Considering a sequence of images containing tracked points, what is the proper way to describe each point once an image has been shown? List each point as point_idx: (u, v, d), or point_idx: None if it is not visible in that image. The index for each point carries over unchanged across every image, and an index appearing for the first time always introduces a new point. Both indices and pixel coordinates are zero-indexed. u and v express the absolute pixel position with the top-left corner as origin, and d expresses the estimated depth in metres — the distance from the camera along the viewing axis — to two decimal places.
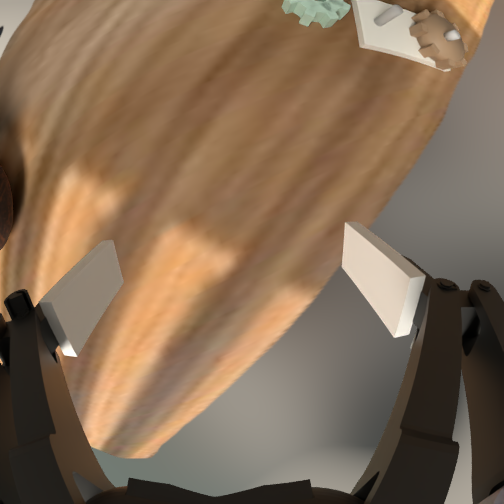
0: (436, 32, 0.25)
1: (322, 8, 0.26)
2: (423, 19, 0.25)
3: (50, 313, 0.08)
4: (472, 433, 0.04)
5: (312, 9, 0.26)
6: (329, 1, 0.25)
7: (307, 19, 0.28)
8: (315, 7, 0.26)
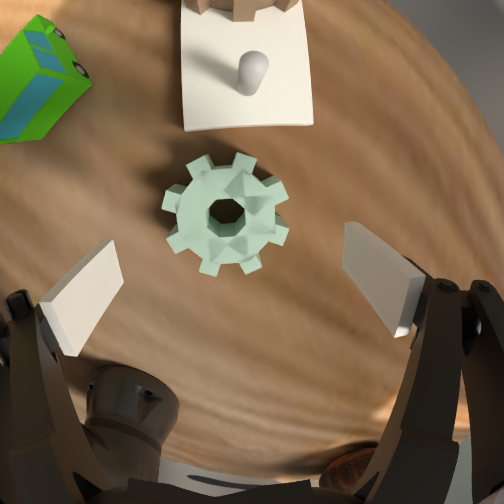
0: None
1: (263, 212, 0.22)
2: None
3: (50, 313, 0.08)
4: (472, 433, 0.04)
5: (269, 230, 0.22)
6: (240, 197, 0.21)
7: None
8: (264, 225, 0.22)
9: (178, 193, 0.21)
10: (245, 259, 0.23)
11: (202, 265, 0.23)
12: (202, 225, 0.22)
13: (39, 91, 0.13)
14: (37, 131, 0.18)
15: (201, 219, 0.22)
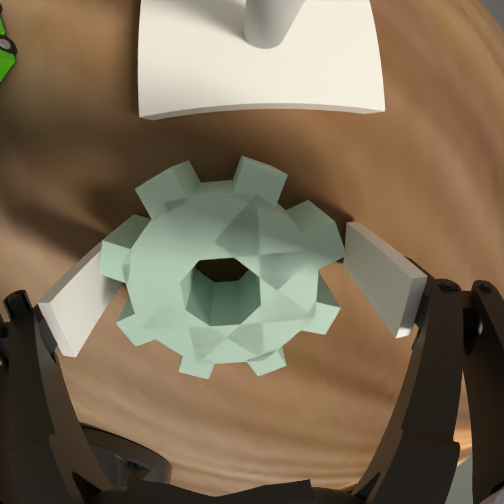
0: None
1: (296, 283, 0.11)
2: None
3: (49, 314, 0.08)
4: (473, 433, 0.04)
5: (305, 313, 0.12)
6: (252, 256, 0.10)
7: None
8: (295, 305, 0.11)
9: (126, 245, 0.10)
10: (259, 356, 0.12)
11: (183, 364, 0.12)
12: (177, 305, 0.11)
13: None
14: None
15: (173, 295, 0.11)
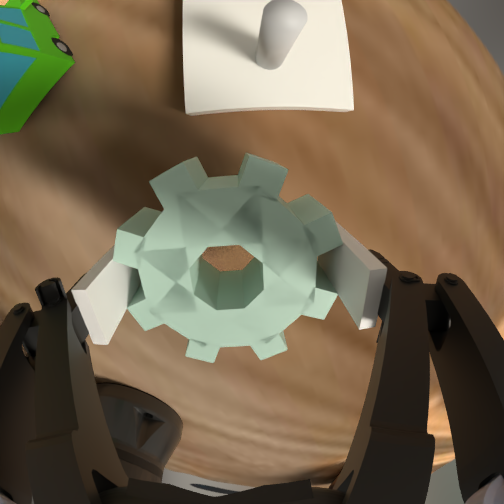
0: None
1: (297, 269, 0.12)
2: None
3: (83, 301, 0.09)
4: (452, 428, 0.05)
5: (305, 297, 0.13)
6: (255, 244, 0.11)
7: None
8: (296, 290, 0.12)
9: (139, 233, 0.11)
10: (261, 340, 0.13)
11: (190, 348, 0.13)
12: (186, 290, 0.12)
13: (5, 73, 0.08)
14: (11, 122, 0.13)
15: (183, 281, 0.12)
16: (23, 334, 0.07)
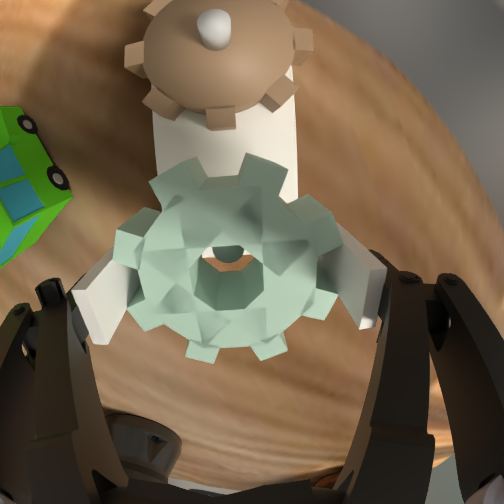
0: (217, 73, 0.14)
1: (297, 270, 0.12)
2: (180, 105, 0.15)
3: (83, 301, 0.09)
4: (451, 429, 0.05)
5: (305, 298, 0.12)
6: (255, 244, 0.11)
7: None
8: (296, 291, 0.12)
9: (139, 234, 0.11)
10: (261, 341, 0.13)
11: (190, 349, 0.13)
12: (186, 291, 0.12)
13: (21, 230, 0.15)
14: (29, 243, 0.20)
15: (182, 281, 0.12)
16: (23, 334, 0.07)
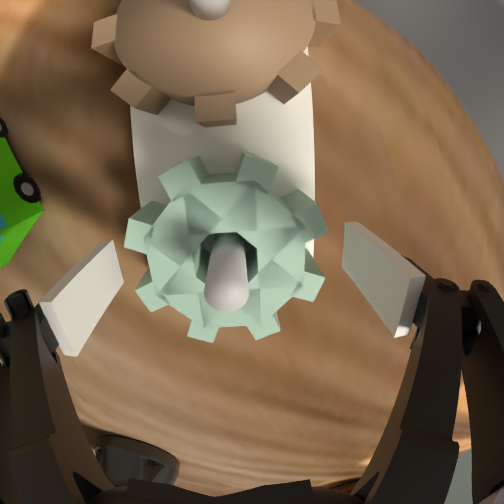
0: (211, 48, 0.09)
1: (287, 254, 0.14)
2: (161, 93, 0.11)
3: (50, 313, 0.08)
4: (472, 433, 0.04)
5: (295, 280, 0.14)
6: (250, 231, 0.13)
7: None
8: (287, 274, 0.14)
9: (148, 222, 0.13)
10: (256, 320, 0.15)
11: (191, 328, 0.15)
12: (189, 273, 0.14)
13: None
14: (1, 263, 0.15)
15: (186, 264, 0.13)
16: None
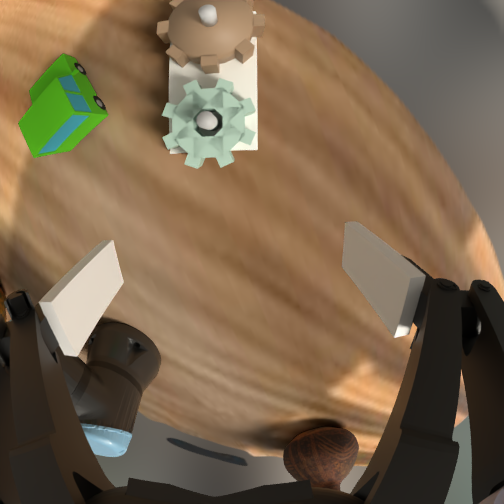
0: (208, 38, 0.22)
1: (236, 119, 0.27)
2: (186, 55, 0.24)
3: (50, 313, 0.08)
4: (471, 433, 0.04)
5: (240, 132, 0.27)
6: (220, 108, 0.26)
7: None
8: (236, 128, 0.27)
9: (175, 105, 0.26)
10: (221, 154, 0.28)
11: (187, 158, 0.28)
12: (190, 127, 0.27)
13: (73, 123, 0.24)
14: (68, 146, 0.29)
15: (190, 122, 0.27)
16: None
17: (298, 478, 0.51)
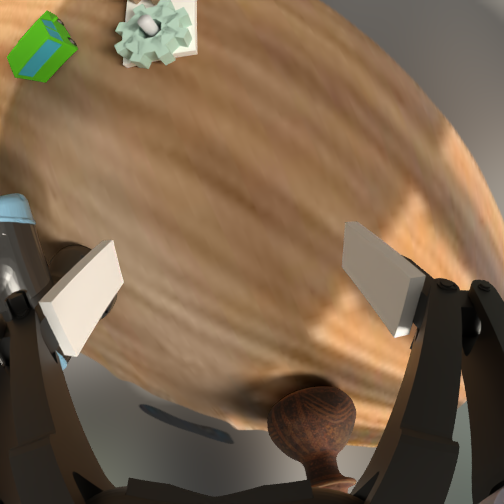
0: None
1: (172, 22, 0.24)
2: None
3: (50, 313, 0.08)
4: (472, 433, 0.04)
5: (175, 30, 0.24)
6: (159, 17, 0.23)
7: (187, 36, 0.26)
8: (172, 28, 0.24)
9: (126, 22, 0.23)
10: (159, 48, 0.25)
11: (132, 56, 0.25)
12: (136, 34, 0.24)
13: (48, 49, 0.21)
14: (44, 75, 0.26)
15: (136, 31, 0.24)
16: None
17: (285, 449, 0.47)
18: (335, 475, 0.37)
